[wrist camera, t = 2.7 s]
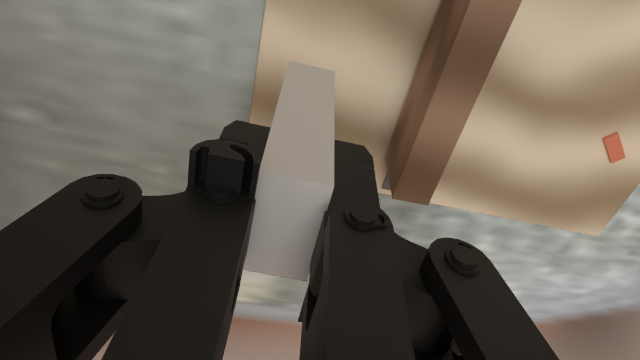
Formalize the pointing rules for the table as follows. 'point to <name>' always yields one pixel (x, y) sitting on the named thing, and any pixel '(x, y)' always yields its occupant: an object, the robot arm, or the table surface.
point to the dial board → (484, 100)
